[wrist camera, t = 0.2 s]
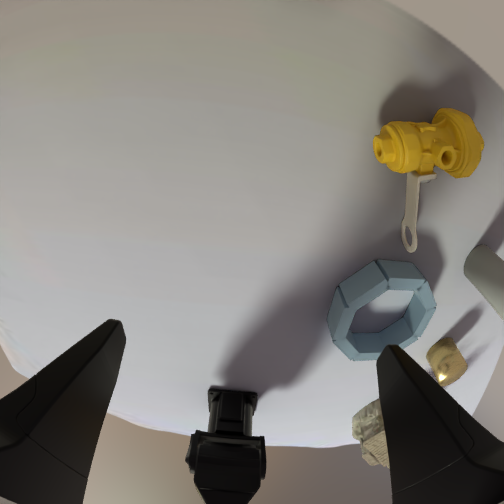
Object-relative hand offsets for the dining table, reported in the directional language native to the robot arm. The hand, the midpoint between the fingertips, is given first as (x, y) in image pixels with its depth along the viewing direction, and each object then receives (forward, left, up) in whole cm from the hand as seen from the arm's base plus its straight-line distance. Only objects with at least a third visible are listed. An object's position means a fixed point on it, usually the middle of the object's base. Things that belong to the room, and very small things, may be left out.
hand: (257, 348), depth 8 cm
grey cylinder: (-3, -25, -14) cm, 29 cm away
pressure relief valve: (+4, -13, -15) cm, 20 cm away
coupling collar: (-9, -13, -14) cm, 22 cm away
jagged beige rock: (-36, -26, -15) cm, 47 cm away
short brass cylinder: (-17, -27, -15) cm, 35 cm away
